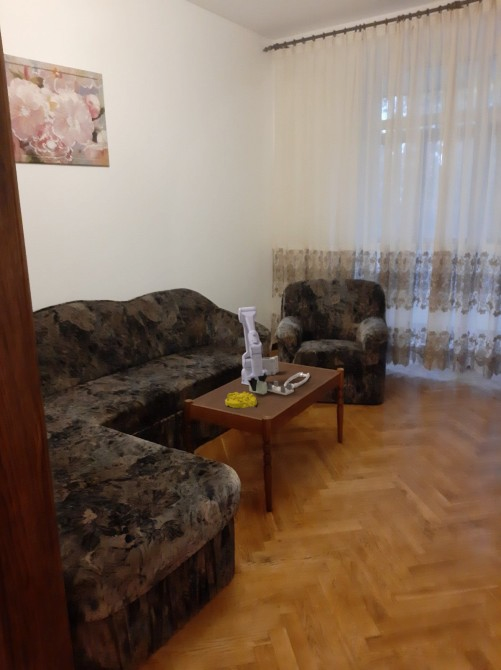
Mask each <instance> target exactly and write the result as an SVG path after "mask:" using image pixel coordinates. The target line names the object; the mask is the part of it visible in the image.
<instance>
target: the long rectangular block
mask: <svg viewBox="0 0 501 670" xmlns="http://www.w3.org/2000/svg"><path fill="white" fill-rule="evenodd" d="M248 387H249V389H248V391H249V392H253V393H257V394H260V395H265V394H267V393H268V391H267V388H268V383H267V381H265V382H262V381H258V380H257V384H256V391H252V388H251V385H250V383H249V385H248Z"/></svg>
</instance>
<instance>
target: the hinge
mask: <svg viewBox="0 0 501 670" xmlns="http://www.w3.org/2000/svg"><path fill="white" fill-rule="evenodd" d="M262 370H267V374H265V375H267V376H272V375H276V373H279V356H278V355H275V356H272V357H262Z"/></svg>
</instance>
